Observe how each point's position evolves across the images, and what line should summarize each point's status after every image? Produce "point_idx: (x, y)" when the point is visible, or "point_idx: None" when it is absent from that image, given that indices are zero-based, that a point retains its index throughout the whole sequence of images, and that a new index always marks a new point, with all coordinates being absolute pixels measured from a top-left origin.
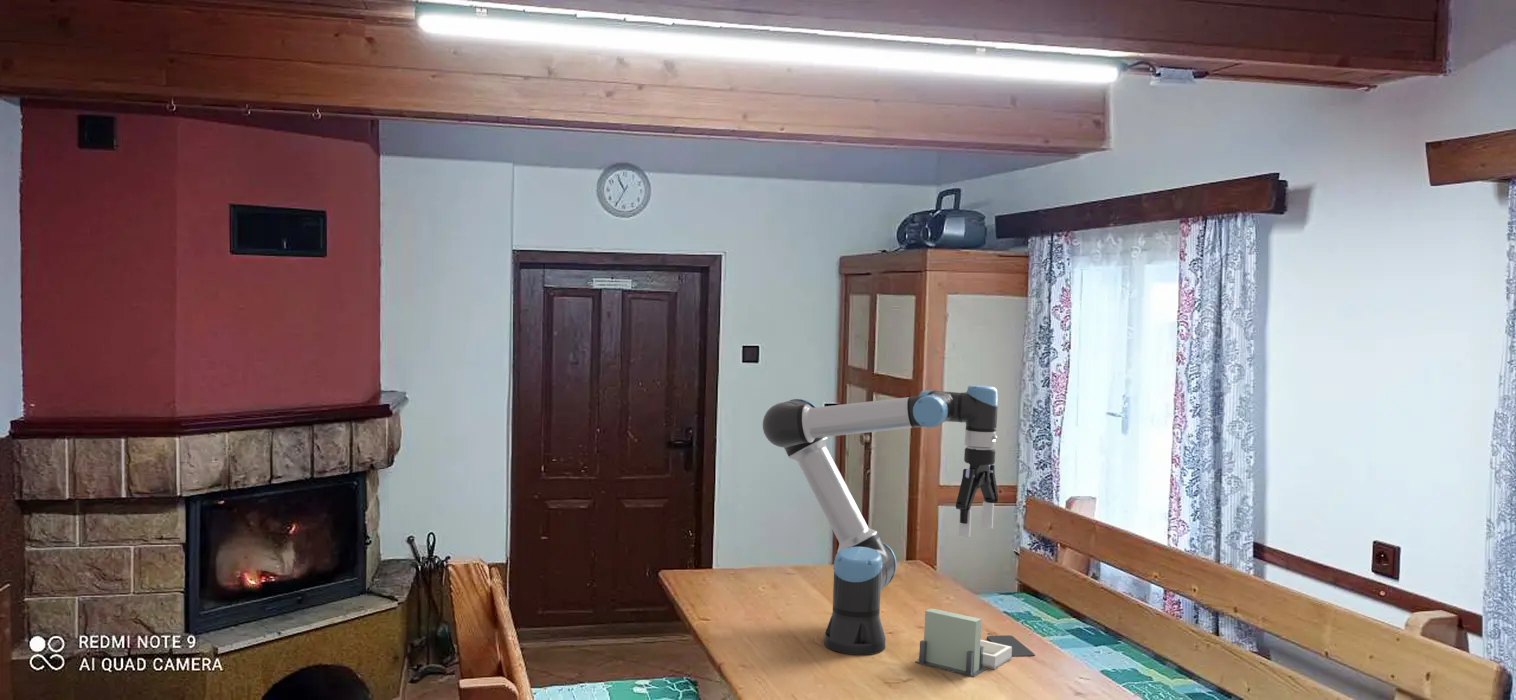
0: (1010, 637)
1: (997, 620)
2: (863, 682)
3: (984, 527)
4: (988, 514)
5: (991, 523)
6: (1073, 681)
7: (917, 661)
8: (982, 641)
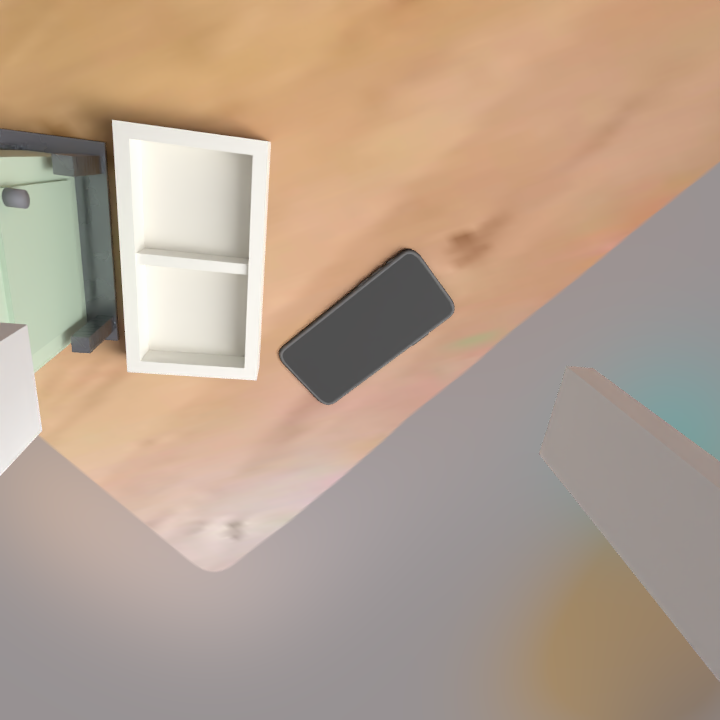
0: (435, 313)
1: (616, 217)
2: None
3: (559, 394)
4: (628, 511)
5: (564, 482)
6: (194, 520)
7: (1, 135)
8: (247, 293)
